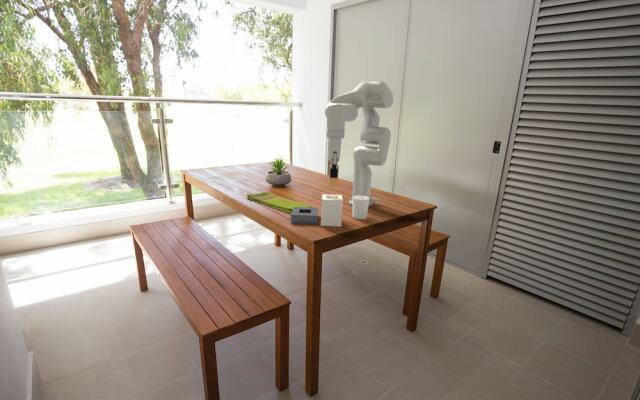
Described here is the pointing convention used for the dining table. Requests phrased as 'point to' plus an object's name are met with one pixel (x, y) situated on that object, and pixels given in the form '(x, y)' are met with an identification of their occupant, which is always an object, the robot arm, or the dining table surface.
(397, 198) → the dining table surface
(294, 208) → the lower socket plate
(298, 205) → the dish towel
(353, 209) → the white cup
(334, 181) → the plug
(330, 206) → the upper stand
